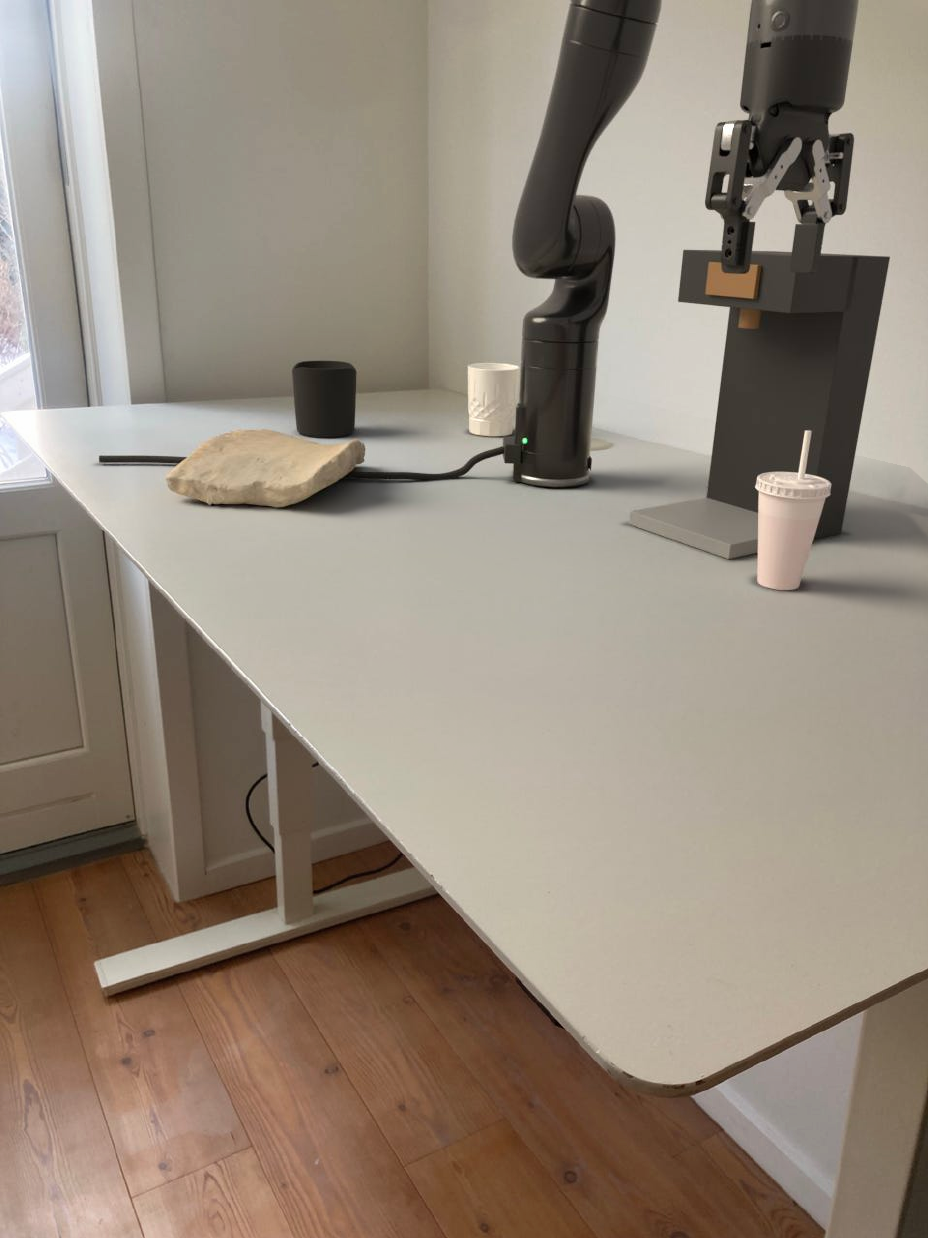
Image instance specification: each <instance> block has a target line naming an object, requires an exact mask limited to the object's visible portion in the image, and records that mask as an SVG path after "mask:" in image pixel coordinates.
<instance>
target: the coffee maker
mask: <svg viewBox="0 0 928 1238" xmlns="http://www.w3.org/2000/svg"><path fill="white" fill-rule="evenodd" d="M721 250H722V249H720V250H719V249H683V250H682V259H681V267H680V268H681V269H680V276H679V277H680V278H679V287H678V298H677V302H678V303H685V304H696V305H705V306H716V307H723V308H729V312H728V320H727V328H726V336H725V342H724V351H723V359H722V368H721V375H720V376H721V377H720V383H719V393H718V400H717V407H716V418H715V425H714V434H713V443H712V449H711V458H710V466H709V474H708V482H707V483H708V484H707V489H706V490H707V491H706V497H702V498H697V499H691V500H684V501H679V502H674V503H668V504H662V505H657V506H652V507H646V508H641V509H634V510H630V511H629V519H628V520H629V521H628V525H630V526H632V527H635V528H639V529H641V530H644V531H647V532H650V533H653V534H655V535H658V536H662V537H664V538H667V539H670V540H673V541H675V542H679V543H682V544H684V545H687V546H690V547H692V548H696V549H698V550H701V551H703V552H706V553H710V554H712V555H715V556H718V557H721V558H724V559H727V560H731V559H736V558H740V557H744V556H748V555H749V556H750V555H753V554H758V499H759V491H758V490H757V489H756V488H755V485H756V482H757V476H759V475H760V474H763V473H768V472H795V473H798V472H799V466H800V459H801V453H802V447H803V440H804V434H805V430H810V431H812V432H811V439H810V445H809V451H808V458H807V464H806V470H805V474H809V475H814V476H818V477H821V478H824V479H826V480H828V481H829V482H830V483H831V490H830V496H828V497H826V499H825V502H824V505H823V509H822V512H821V516H820V519H819V522H818V525H817V529H816V532H815V535H814V538H813V541H814V540H818V539H822V538H826V537H831V536H836V535H840V534H842V532H843V525H844V520H845V514H846V509H847V503H848V497H849V492H850V488H851V487H850V486H851V481H852V474H853V469H854V464H855V458H856V452H857V447H858V446H857V445H858V442H859V441H858V440H859V436H860V435H859V434H860V430H861V423H862V420H863V419H862V417H863V412H864V406H865V401H866V395H867V389H868V384H869V379H870V372H871V369H872V368H871V367H872V363H873V362H872V361H873V357H874V350H875V345H876V339H877V333H878V327H879V322H880V316H881V310H882V305H883V301H884V300H883V298H884V293H885V287H886V281H887V276H888V271H889V267H890V259H891V256H885V255H884V256H883V255H864V254H863V255H862V254H843V253H842V254H841V253H822V252H821V256H820V261H819V263H818V269H817V271H816V272H815V273H793V272H792V271H791V270H790V262H791V255H792V251H776V250H752V255H751V263H750V269H749V271H748V272H747V273H746V274H731V273H724V272H723V271H722V268H721V266H722V265H721Z"/></svg>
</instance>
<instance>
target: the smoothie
mask: <svg viewBox="0 0 928 1238" xmlns="http://www.w3.org/2000/svg"><path fill="white" fill-rule="evenodd" d="M811 432H812V431H810V430H805V434H804V440H803V447H802V453H801V459H800V466H799V472H798V473H795V472H768V473H763V474H760V475H759V476H757V482H756V485H755V488H756V489H757V490H758V491H759V499H758V553H757V573H756V574H757V575H756V577H757V580H756V582H757V584H759V586H761V587H765V588H768V589H772V590H777V591H793V590H797V589H799V588H800V584H801V582H802V579H803V575H804V571H805V568H806V564H807V563H808V562H807V561H808V558H809V555H810V552H811V548H812V545H813V541H814V540H813V538H814V535H815V532H816V529H817V525H818V522H819V519H820V516H821V512H822V509H823V505H824V502H825V499H826V497H828V496H830V490H831V483H830V482H829V481H828V480H826V479H824V478H821V477H818V476H814V475H809V474H805V470H806V464H807V458H808V451H809V445H810V439H811Z"/></svg>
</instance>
